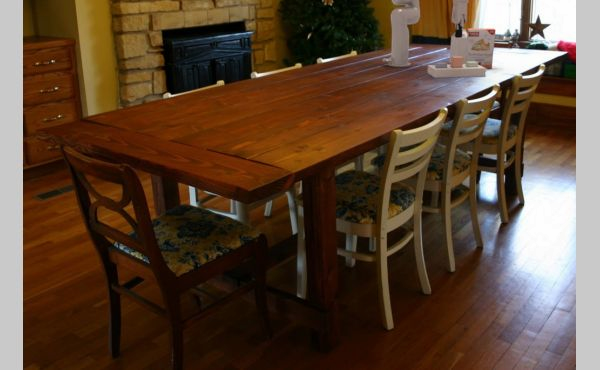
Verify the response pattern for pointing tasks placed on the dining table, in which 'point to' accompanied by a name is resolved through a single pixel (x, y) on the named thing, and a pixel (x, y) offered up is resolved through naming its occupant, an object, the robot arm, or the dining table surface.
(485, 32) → the cracker box
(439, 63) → the key slate
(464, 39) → the milk carton
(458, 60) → the key terracotta
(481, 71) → the white rectangular tray
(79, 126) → the dining table surface
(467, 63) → the key sage
